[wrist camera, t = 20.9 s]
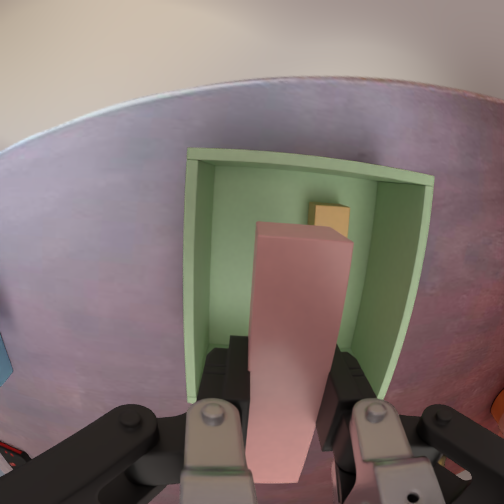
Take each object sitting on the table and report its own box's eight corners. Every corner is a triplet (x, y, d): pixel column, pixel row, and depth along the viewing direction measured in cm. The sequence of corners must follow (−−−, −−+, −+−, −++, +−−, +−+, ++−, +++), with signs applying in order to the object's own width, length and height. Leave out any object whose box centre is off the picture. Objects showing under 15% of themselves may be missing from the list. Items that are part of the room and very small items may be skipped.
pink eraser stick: (256, 220, 10) (257, 235, 7) (331, 226, 10) (354, 241, 7) (240, 443, 12) (239, 482, 10) (292, 444, 12) (297, 483, 10)
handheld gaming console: (26, 452, 31) (3, 488, 22) (57, 490, 34) (40, 524, 25) (-4, 439, 31) (-27, 470, 22) (25, 477, 34) (8, 506, 25)
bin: (208, 157, 21) (187, 147, 14) (381, 174, 21) (434, 176, 14) (202, 344, 25) (187, 403, 17) (353, 350, 25) (382, 404, 18)
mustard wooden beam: (308, 201, 21) (315, 204, 19) (340, 203, 21) (350, 207, 19) (297, 328, 24) (301, 343, 21) (325, 328, 24) (332, 342, 22)
